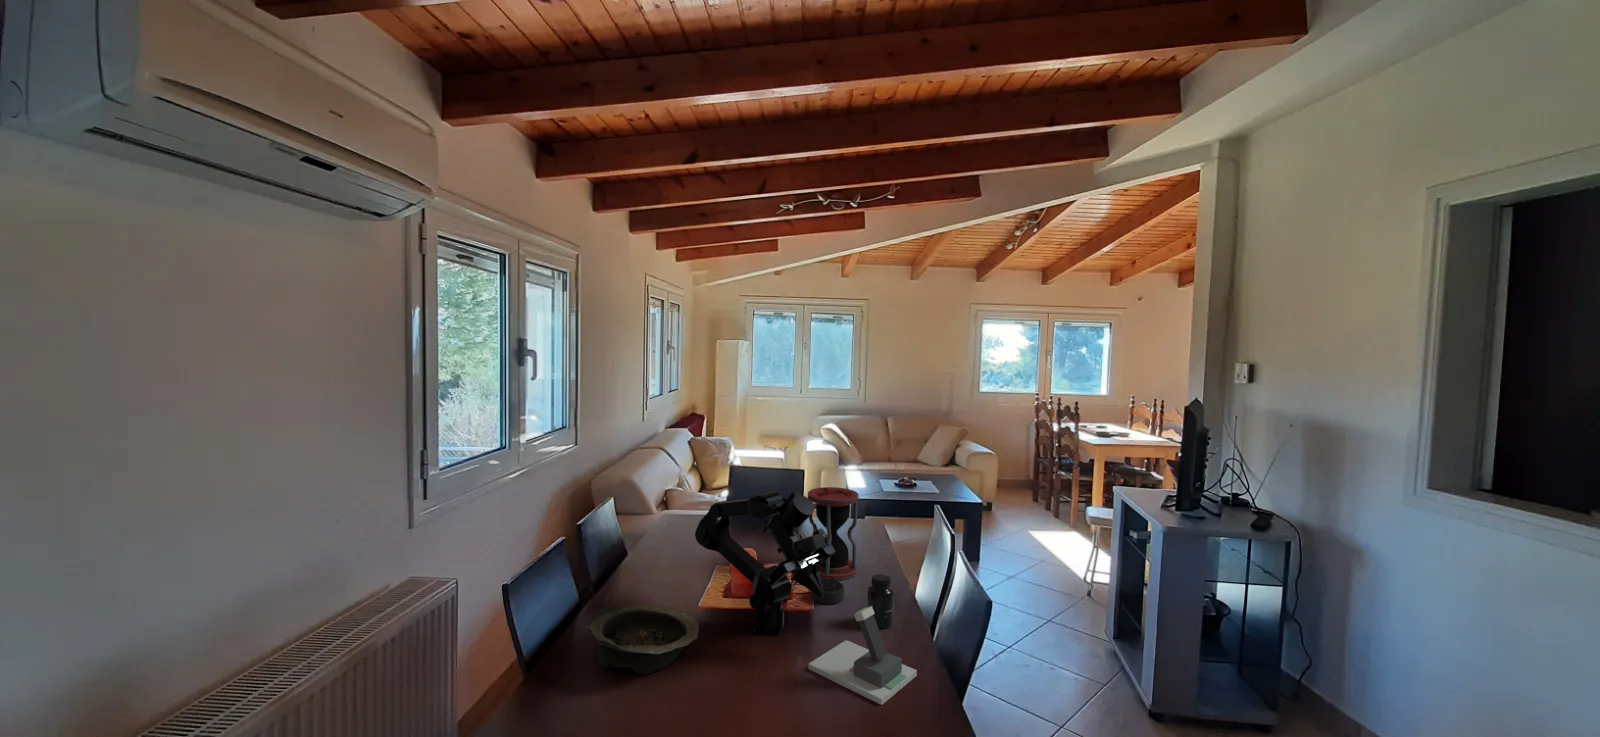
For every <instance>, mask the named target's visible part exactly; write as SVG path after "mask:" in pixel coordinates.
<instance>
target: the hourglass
mask: <svg viewBox="0 0 1600 737" xmlns="http://www.w3.org/2000/svg"><path fill="white" fill-rule="evenodd" d="M859 497H860V495H859V493H858V492H857V491H855V490H853V489H848V488H844V487H837V486H836V487H832V486H829V487H825V486H824V487H818V488H812V489H811V490H808V492H807V498H808V499H809V500H811V501H812V503H813V504H816V505H815V513H816V518H817V520H818V521H819V522H820V523H821V525H822V526H823V527H824V528H825V530H826V535H827V536H828V539H827V541H825V544H830V545H832V546H833V548H834V550H835V551H836V552H835V553H834V554H833V555H832V556H831V557H830V558H829V559H828V560H826V561H825V562H824V563H823V564H821V565H820V576H821V580H835V581H838V582H839V581H845V580H849V579H851V578H853V577H855V576H856V575H857V572H858V571H857V570H858V565H857V544H856V541H855V540H854V539H853V535H852V534H853V530H854V529H855V528H856V527H857V526H856V525H857V523H858V501H859V499H860V498H859ZM852 504H853V512H852V514H853V515H852V517H853V518H852V520H853V521H852V523H851V526H850V527H848V530H847V532H846V535H847V539H848V541H849V542H851V545H852V555H851V556H852V557H851V558H852V560H851V559H850V558H849V556H850V555H849V548H848V546H847V544H846V542H845V541H844V540H843V538H841V537H840V536H839V534H838V531H839V530H840V529H841V528H842V527H843V526H844V525H845V523H846V522H847V521H848V519H849V517H850V513H851V512H850V510H851V509H850V508H851V506H850V505H852ZM808 521H809V522H810V524H811V526H812V532H813V531H815V530H817V529H818V527H817V524H816V523H815V521H814V519H813V514H812V515H811V516H810V517H809V518H808ZM812 535H813V533H812V534H811V536H812ZM811 554H812V553H811Z"/></svg>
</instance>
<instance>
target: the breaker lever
mask: <svg viewBox="0 0 1600 737" xmlns="http://www.w3.org/2000/svg"><path fill="white" fill-rule="evenodd" d="M873 614H875V613H874V611H873V608H872V606H871V607H867V606H866V607H864V608H862V609H860V610H858V611H857V612H855V613H854V614H853V615H854V617H855V618H854V619H855V620H856V622H858V624H859V627H860V630H861V633H862V636H863V639H864V641H865V644H866V646H867V649H868V650H869V652H870V655H871V658H872V661H878V660H880V659H881V658H882V657H884V656H885V655H886V654H888V653H889V652H888V651H887V649H886V646H885V642H884V640H883V638H882V635H881V632H880V629H879V628H878V626H877V623H876V621H875V618H874V615H873Z"/></svg>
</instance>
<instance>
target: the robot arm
mask: <svg viewBox="0 0 1600 737" xmlns="http://www.w3.org/2000/svg"><path fill="white" fill-rule="evenodd" d="M814 512H815V505H814V502H813V503H812V501H811V500H809V499H808V496H805V495H804V494H800V491H798V490H797V491H793V492H791V493H790V495H789V496H788V497H785V496H782V495H781V494H780V492H779V491H777V490H773V491H769V492H765V493H760V494H757V495H754V496H752V497H749V498H745V499H744V498H743V499H735V500H722V501H719V502H714V503H713V504H711V505H710V507H709V509H708V512H707V513H706V514H705V515H704V516H703V517H702V518H701V519H700V521H699V522H698V525H697V527H696V530H695V533H694V537H695V540H696V542H697V543H698V544H699V545H700V547H701V546H702V547H703V548H704V549H706V550H709V551H713V552H717V553H719V555H721V556H722V557H723V558H724V559H725V560H726V561H727V562H729V563H730V564H731V565H732V566H733V567H734V568H735V569H736V570H737V571H738V572H740V573H741V574H742V576H744V577H745V578H746V579H747V580H748V581H749V582H750V583H751V584H752V588H753V594H752V595H751V596H750V597H749V598H748V599H749V600H748V601H749V604H750V608H752V609H754V610H755V622H754V623H755V624H754V626H755V627H754V630H753V634H756V635H757V634H758V635H769V636H772V635H773V636H780V635H781V631H782V630H783V629H784V625H785V609H784V608H783V604H784V603H788V599H789V597H790V596H791V594H792V582H795V583H797V584H799V585H801V586H802V587H804V588H805V589H807V590H809V591H810V592H812V594H813V593H815V594H816V595H817V596H819V597H822V596H823V595H824V589H823V585H822V581H821V580H822V579H821V576H820V565H821V564H823V563H824V562H825V561H826V560H828V559H829V558H830V557H831V556H832V555H833V554H834V553H835V552H836V551H835V550H834V548H833V546H832V545H830V544H825V541H827V539H828V536H827V532H826V531H825V530H824V529H823V528H822V527H821V528H817V530H815V531H813V530H812V534H813V535H812V534H811V535H810V536H806V534H805V533H803V532H798V530H797V528H799V527H800V526H802V525H803V524H804V523H805V522H806V521H807V520H809V517H810V516H811V515H812V516H813V513H814ZM744 515H745V516H746V515H750V516H751V517H753V518H756V519H765V518H768V517H771V516H772V517H771V519H766V520H765V521H764V522H763V523H764V525H763V527H762V532H763V534H764V533H765V534H766V533H767V532H770V534H771V535H772V537H773V538H774V541H775V543H776V544H777V545H778V548H777V549H776V551H777V553H778V554H783V556H784V557H785V559H786V560H783V561H781V562H779V563H778V564H777V565H772V566H769V567H765V566H764V565H763V564H762V563H761V562H759V561H758V560H757V559H756V558H755V557H754V556H752V555H751V554H750V553H749V552H748V551H747V550H746V549H745V548H744V547H742V546H741V545H740V544H739V543H738V542H737V541H735V540H734V539H733V538H732V535H731V530H730V529H729V528H730V526H731V517H733V516H744ZM719 518H720V519H719ZM811 553H812V554H811ZM790 573H792V577H791V579H790V578H789V577H788V576H787V575H789V574H790Z"/></svg>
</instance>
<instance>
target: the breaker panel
mask: <svg viewBox="0 0 1600 737" xmlns="http://www.w3.org/2000/svg"><path fill="white" fill-rule="evenodd" d="M887 653H888V654H886V655H885V656H884V657H882V658H881V659H880V660H878V661H872V658H871V655H870V652H869V650H868V648H865V647H864V646H861V645H859V644H856V643H855V642H851V641H850V640H844V641H842V642H841V643H839V644H838V645H836V646H835V647H832V648H831V649H830V650H828V651H826V652H825V653H823V654H822V655H820V656H819V657H817V658H815V659H814V660H812V661H811V662H809V663H808V670H810V671H811V672H813V673H816V674H818V675H820V676H821V677H824V678H826V679H828V680H829V681H832V682H833V683H836V684H838V685H840V686H842V687H844V688H846V689H849V690H851V691H852V692H854V693H856V694H858V695H861V696H862V697H865V698H867V699H868V700H870V701H873V702H875V703H876V704H879V705H881V706H882V705H883V704H885V703H886V702H887V701H888V700H889V699H891V698H892V697H893V696H895V695H896V694H897V692H899V691H900V690H901V689H903V688H904V687H905V686H906V685H908V683H910V682H911V681H912V680H913V679H914V678H916V677H917V675H918V673H917V672H918V671H917V669H915V668H912V667H910V666H907V665H906V664H903V658H902V657H899V656H897V655H894V654H891V653H889V652H887Z"/></svg>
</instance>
